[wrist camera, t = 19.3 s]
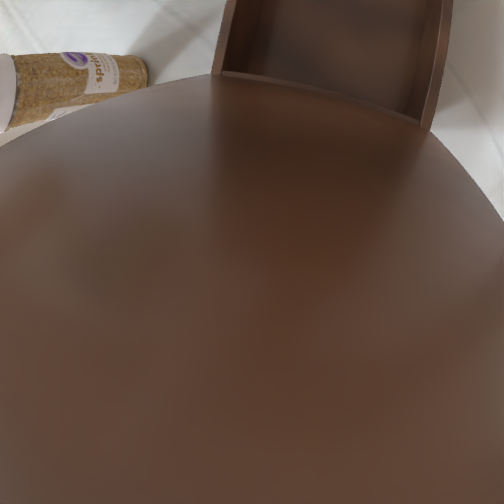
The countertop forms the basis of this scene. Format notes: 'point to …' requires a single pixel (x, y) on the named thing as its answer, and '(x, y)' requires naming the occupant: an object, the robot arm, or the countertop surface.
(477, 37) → the countertop surface
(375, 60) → the chest
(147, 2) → the countertop surface
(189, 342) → the lid
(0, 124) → the sprinkles bottle
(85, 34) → the countertop surface
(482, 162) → the countertop surface
